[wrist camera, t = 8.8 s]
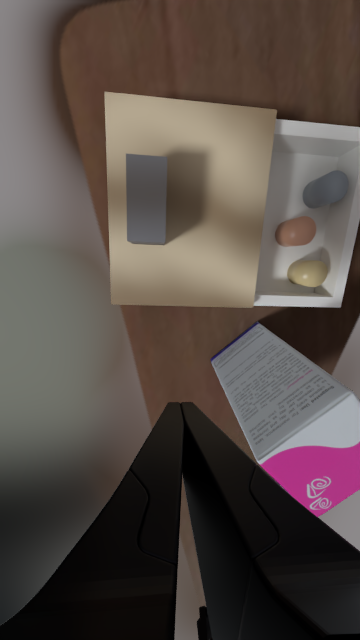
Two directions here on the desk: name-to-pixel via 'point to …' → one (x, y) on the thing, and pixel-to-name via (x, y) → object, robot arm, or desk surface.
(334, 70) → the desk surface
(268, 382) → the supplement box
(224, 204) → the lid
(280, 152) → the white storage tray
